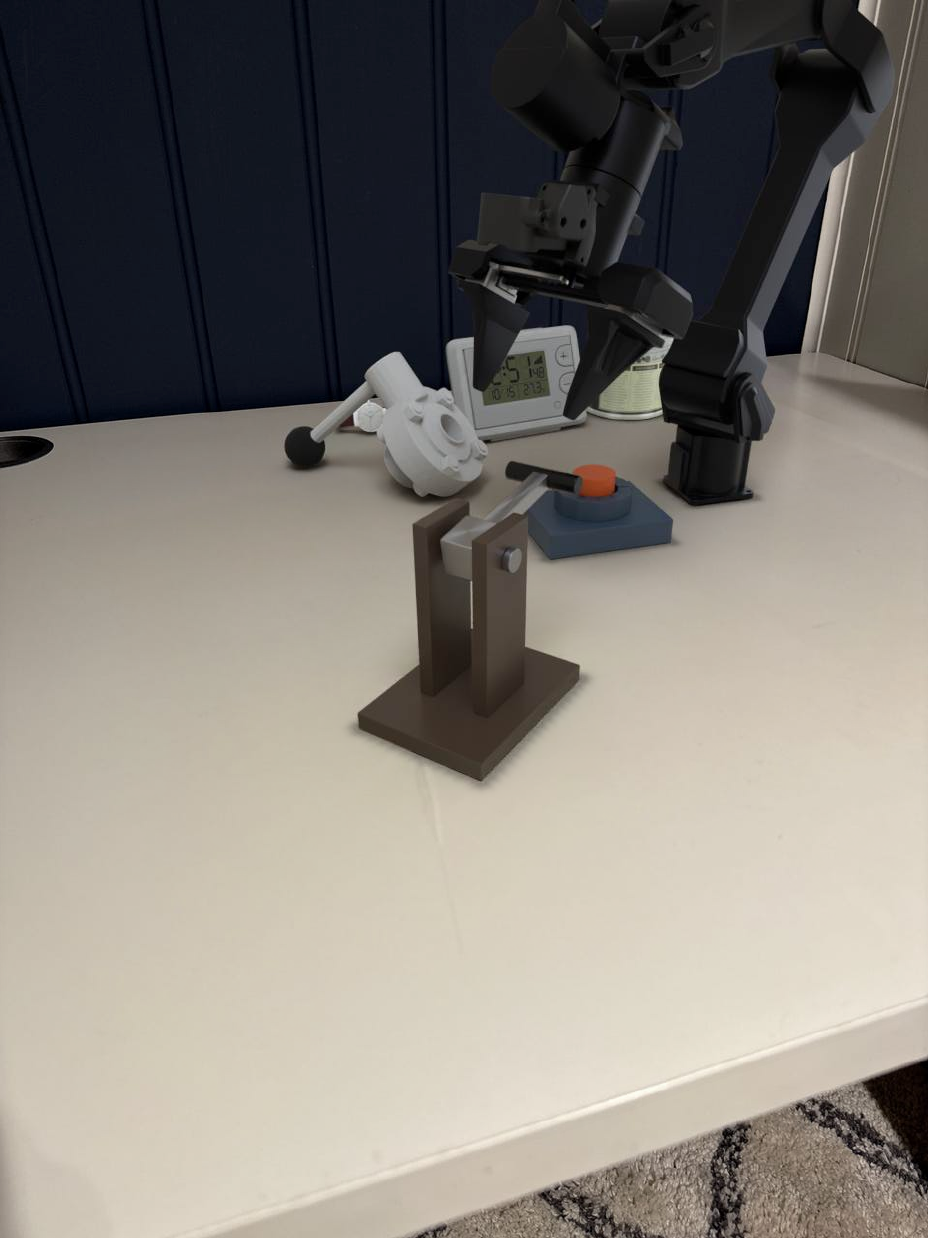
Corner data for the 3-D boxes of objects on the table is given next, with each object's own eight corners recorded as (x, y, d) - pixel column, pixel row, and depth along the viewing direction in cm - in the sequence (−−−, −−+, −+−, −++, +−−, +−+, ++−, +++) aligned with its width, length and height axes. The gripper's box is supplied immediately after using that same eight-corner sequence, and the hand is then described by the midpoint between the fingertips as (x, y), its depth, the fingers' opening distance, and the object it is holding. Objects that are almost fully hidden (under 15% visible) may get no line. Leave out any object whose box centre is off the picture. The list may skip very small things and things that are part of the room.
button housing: (627, 502, 84) (630, 461, 82) (670, 542, 77) (675, 499, 75) (515, 516, 82) (516, 475, 80) (549, 559, 74) (551, 515, 72)
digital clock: (456, 448, 97) (454, 349, 92) (439, 422, 105) (436, 329, 99) (597, 435, 100) (604, 338, 95) (571, 411, 108) (575, 319, 102)
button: (604, 481, 79) (605, 462, 78) (621, 496, 76) (622, 477, 75) (566, 485, 78) (567, 467, 78) (581, 501, 75) (582, 482, 75)
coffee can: (564, 407, 109) (569, 285, 102) (618, 389, 115) (627, 273, 108) (632, 426, 102) (642, 298, 95) (685, 407, 108) (699, 284, 101)
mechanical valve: (457, 488, 80) (361, 346, 79) (336, 576, 91) (249, 452, 89) (505, 459, 88) (419, 330, 87) (389, 543, 99) (310, 429, 98)
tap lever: (515, 481, 59) (513, 449, 58) (583, 497, 57) (582, 463, 55) (424, 567, 53) (418, 533, 51) (496, 589, 50) (493, 554, 49)
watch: (338, 437, 101) (335, 405, 99) (333, 424, 105) (331, 393, 103) (406, 431, 102) (404, 399, 100) (398, 418, 106) (397, 388, 104)
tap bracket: (466, 640, 64) (463, 470, 57) (579, 679, 59) (590, 500, 53) (358, 728, 55) (340, 540, 49) (481, 781, 51) (479, 583, 44)
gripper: (434, 123, 62) (361, 344, 65) (649, 129, 50) (548, 400, 53) (532, 196, 70) (463, 389, 73) (737, 216, 58) (645, 446, 61)
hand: (521, 403), depth 65 cm, fingers open, 9 cm apart
